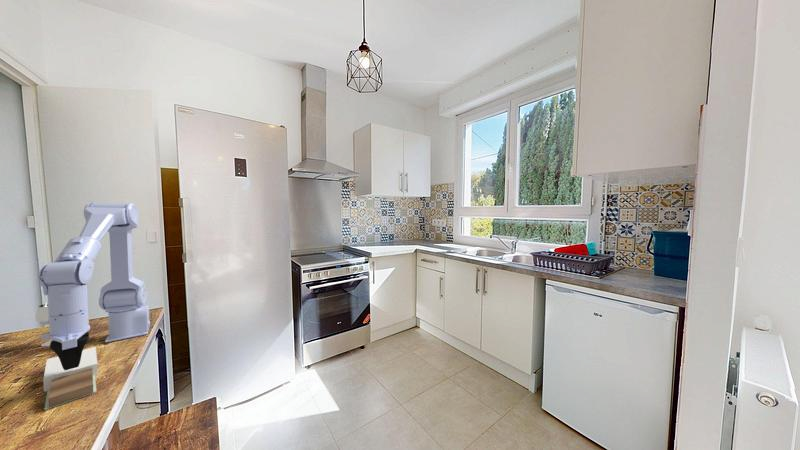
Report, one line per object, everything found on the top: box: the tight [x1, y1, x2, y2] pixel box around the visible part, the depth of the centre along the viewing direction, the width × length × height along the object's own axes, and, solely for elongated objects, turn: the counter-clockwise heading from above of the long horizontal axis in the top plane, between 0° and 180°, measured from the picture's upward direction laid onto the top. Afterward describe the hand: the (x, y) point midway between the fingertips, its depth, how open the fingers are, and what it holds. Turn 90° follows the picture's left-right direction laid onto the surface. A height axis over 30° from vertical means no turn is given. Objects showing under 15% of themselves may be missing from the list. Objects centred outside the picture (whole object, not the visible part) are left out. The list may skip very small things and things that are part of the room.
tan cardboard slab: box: [48, 368, 94, 409], centre depth 59 cm, size 9×6×2 cm, turn 51°
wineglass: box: [35, 302, 53, 347], centre depth 79 cm, size 6×6×12 cm
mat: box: [43, 375, 97, 411], centre depth 59 cm, size 9×7×1 cm
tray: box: [42, 346, 99, 392], centre depth 65 cm, size 12×8×3 cm, turn 51°
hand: (71, 367), depth 61 cm, fingers closed
